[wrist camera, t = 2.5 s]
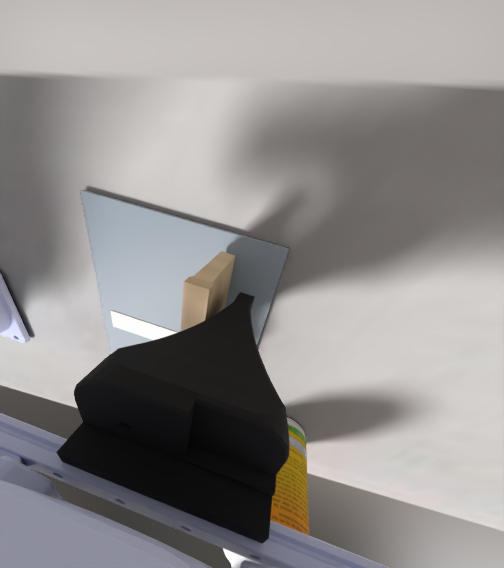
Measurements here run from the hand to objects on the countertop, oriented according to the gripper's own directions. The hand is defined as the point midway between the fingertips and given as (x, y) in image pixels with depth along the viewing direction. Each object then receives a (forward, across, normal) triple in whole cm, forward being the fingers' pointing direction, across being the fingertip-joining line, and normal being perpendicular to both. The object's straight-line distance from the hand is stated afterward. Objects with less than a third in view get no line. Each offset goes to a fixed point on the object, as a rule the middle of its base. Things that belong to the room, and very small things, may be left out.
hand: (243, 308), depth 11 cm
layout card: (+1, +5, +4) cm, 7 cm away
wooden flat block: (+1, +2, +1) cm, 2 cm away
